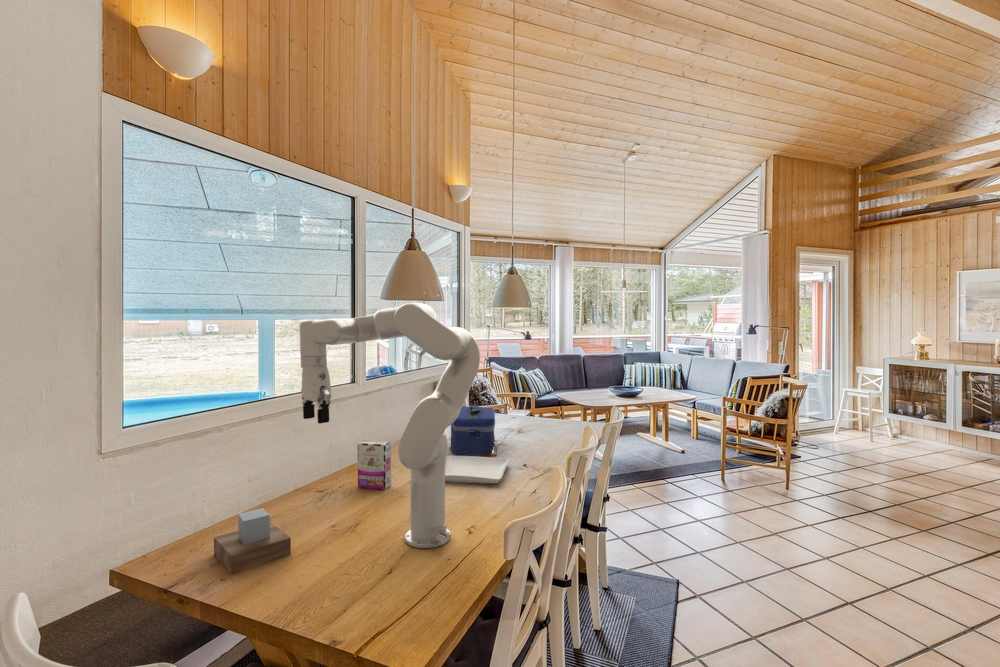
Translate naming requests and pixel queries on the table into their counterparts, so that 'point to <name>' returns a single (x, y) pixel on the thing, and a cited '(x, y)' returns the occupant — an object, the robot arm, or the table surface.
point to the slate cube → (254, 526)
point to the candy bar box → (374, 465)
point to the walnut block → (251, 550)
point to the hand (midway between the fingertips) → (316, 420)
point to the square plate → (475, 469)
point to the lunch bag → (473, 431)
